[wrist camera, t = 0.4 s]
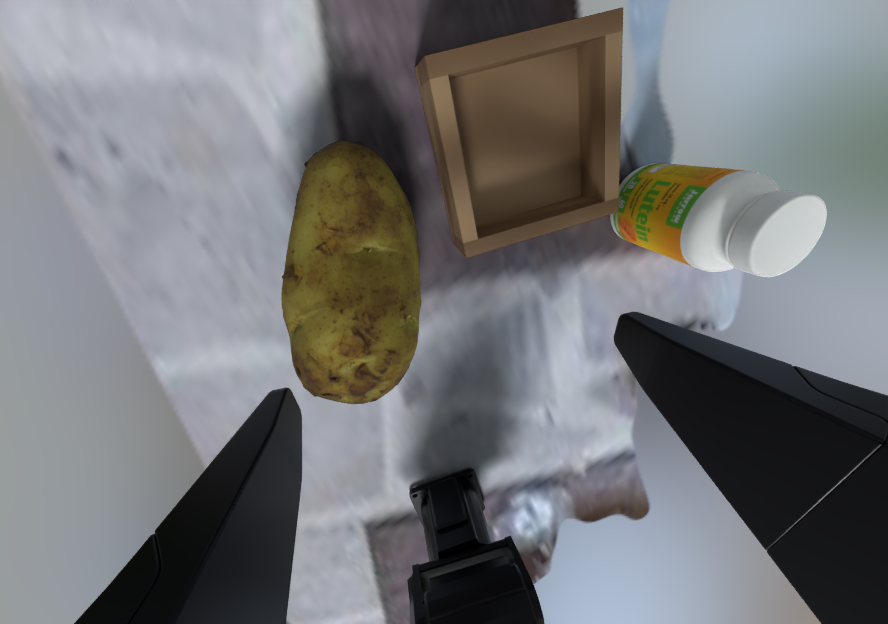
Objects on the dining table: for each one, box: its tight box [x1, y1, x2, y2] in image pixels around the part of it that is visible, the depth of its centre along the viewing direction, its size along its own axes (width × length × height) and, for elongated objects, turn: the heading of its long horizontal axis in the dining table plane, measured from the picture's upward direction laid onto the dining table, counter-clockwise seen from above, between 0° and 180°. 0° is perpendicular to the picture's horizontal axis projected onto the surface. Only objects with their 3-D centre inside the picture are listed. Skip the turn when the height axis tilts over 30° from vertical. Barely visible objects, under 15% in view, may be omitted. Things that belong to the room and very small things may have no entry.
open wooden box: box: [415, 8, 623, 258], centre depth 20 cm, size 10×10×3 cm
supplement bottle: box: [610, 163, 827, 277], centre depth 20 cm, size 5×5×10 cm
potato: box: [282, 141, 421, 404], centre depth 19 cm, size 8×13×8 cm, turn 156°
